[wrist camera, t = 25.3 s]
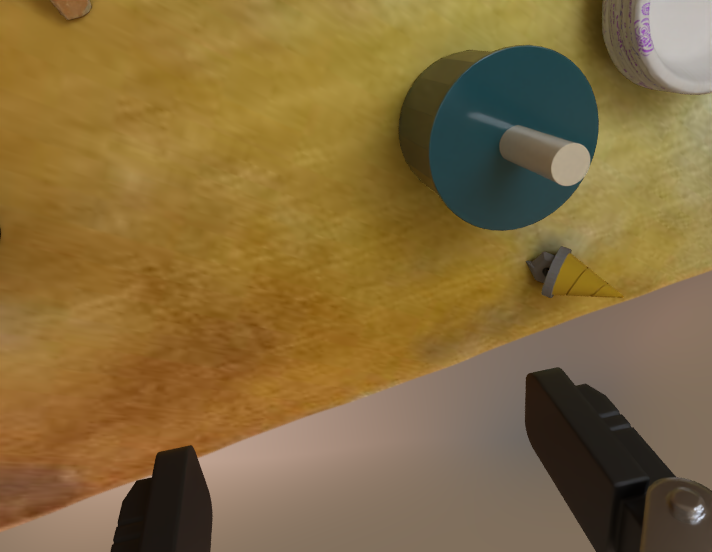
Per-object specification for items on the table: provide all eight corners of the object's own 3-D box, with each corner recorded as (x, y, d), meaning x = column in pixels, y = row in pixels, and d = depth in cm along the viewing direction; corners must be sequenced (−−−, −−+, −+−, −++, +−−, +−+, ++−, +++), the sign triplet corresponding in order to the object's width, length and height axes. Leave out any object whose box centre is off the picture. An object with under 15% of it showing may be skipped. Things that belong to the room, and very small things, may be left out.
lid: (520, 253, 49) (577, 297, 41) (389, 174, 44) (427, 206, 36) (622, 109, 46) (706, 126, 38) (495, 4, 41) (562, -2, 33)
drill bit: (539, 226, 60) (639, 260, 56) (531, 260, 64) (624, 294, 60) (518, 261, 57) (622, 299, 53) (512, 294, 61) (608, 332, 57)
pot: (480, 214, 57) (527, 247, 48) (373, 155, 52) (403, 179, 44) (554, 96, 54) (618, 109, 45) (446, 21, 49) (495, 20, 41)
